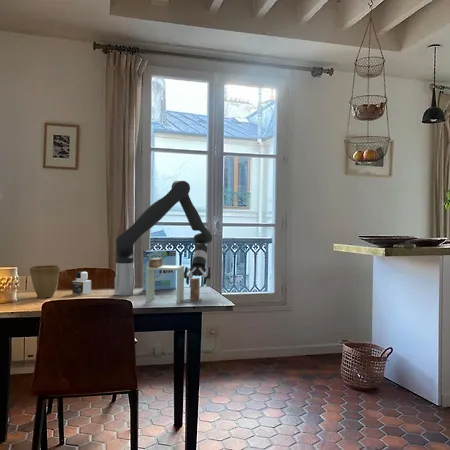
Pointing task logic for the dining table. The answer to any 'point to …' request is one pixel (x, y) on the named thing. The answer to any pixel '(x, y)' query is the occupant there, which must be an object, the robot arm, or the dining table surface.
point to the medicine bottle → (81, 284)
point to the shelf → (151, 281)
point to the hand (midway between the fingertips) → (195, 284)
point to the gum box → (162, 277)
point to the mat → (191, 301)
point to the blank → (194, 289)
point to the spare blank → (155, 262)
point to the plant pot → (45, 279)
